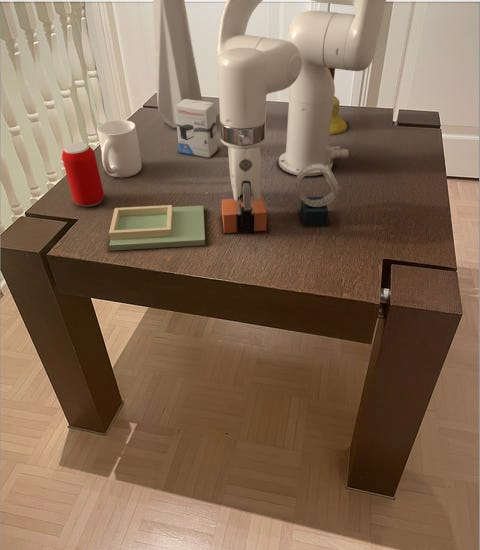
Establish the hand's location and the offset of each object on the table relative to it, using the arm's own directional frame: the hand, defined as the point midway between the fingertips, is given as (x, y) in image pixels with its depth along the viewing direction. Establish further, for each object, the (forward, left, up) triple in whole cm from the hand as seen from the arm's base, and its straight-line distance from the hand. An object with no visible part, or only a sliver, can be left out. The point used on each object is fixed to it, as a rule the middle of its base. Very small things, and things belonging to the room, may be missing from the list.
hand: (243, 221), depth 88 cm
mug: (+26, -24, -1) cm, 35 cm away
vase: (+12, -53, -1) cm, 54 cm away
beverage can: (+31, -12, -1) cm, 33 cm away
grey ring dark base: (-14, -1, -1) cm, 14 cm away
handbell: (-27, -47, -1) cm, 54 cm away
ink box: (+8, -34, -1) cm, 35 cm away
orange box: (0, 0, -1) cm, 1 cm away
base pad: (+16, 0, -1) cm, 16 cm away
